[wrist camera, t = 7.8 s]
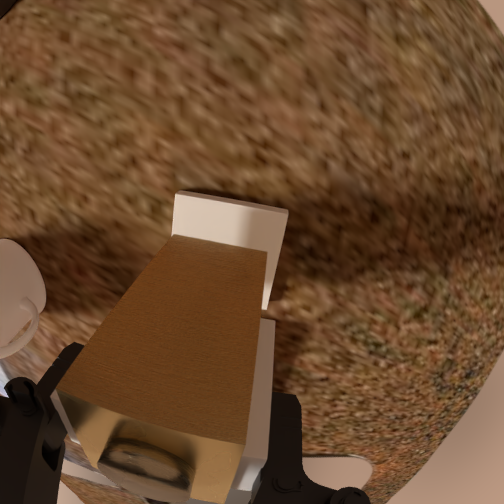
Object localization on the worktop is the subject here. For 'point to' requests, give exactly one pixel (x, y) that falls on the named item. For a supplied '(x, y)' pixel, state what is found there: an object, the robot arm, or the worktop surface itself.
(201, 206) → the pad
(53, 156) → the worktop surface
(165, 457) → the brass block
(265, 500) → the robot arm
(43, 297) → the mug
